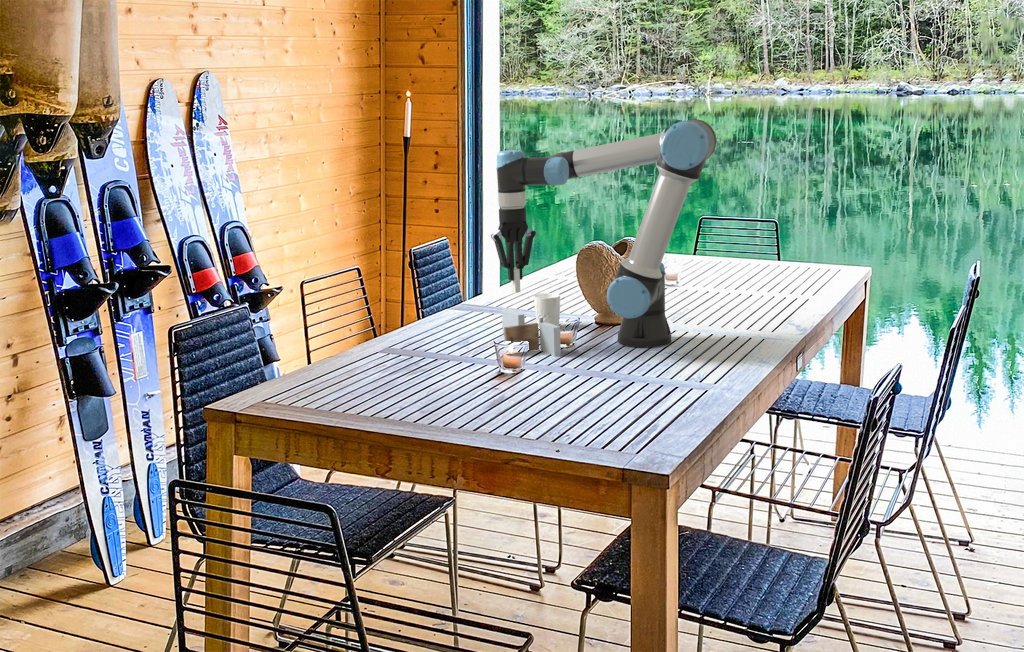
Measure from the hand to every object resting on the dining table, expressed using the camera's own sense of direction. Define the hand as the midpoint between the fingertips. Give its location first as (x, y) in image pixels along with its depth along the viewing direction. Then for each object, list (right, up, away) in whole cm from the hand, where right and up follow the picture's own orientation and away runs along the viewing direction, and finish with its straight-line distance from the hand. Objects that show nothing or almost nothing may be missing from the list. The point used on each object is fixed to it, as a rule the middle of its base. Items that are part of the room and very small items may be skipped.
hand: (515, 291), depth 310 cm
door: (+2, -17, -3) cm, 17 cm away
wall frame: (+5, -15, +5) cm, 17 cm away
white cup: (+10, -10, +26) cm, 30 cm away
